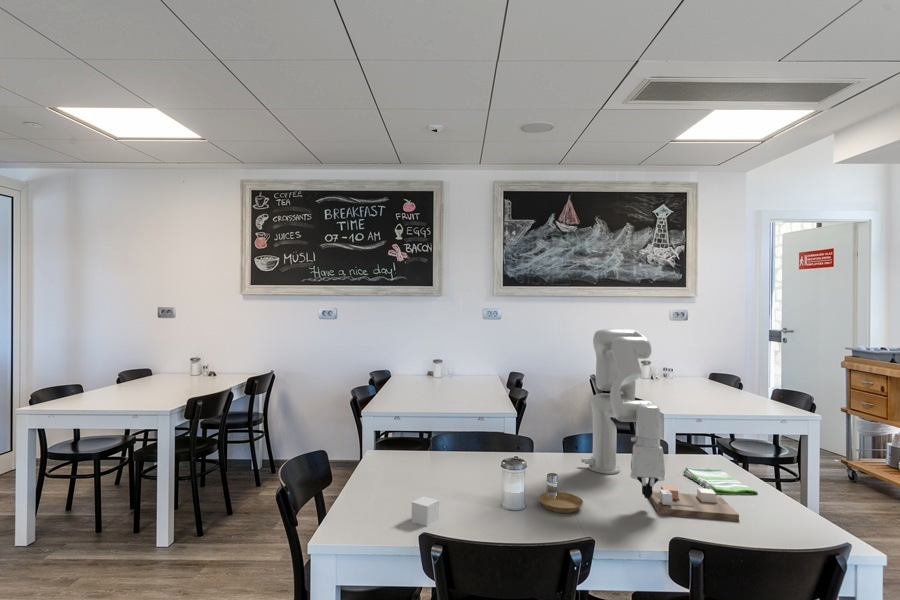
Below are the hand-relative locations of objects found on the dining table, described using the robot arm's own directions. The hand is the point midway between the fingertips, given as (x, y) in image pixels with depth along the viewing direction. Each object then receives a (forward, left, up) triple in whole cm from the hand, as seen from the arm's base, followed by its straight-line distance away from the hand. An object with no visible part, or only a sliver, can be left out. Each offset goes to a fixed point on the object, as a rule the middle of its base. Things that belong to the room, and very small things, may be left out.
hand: (647, 496), depth 166 cm
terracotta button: (+9, +8, -2) cm, 12 cm away
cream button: (+21, +8, -2) cm, 22 cm away
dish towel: (+33, +33, -5) cm, 47 cm away
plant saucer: (-29, -4, -4) cm, 29 cm away
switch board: (+15, +4, -4) cm, 16 cm away
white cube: (-71, -25, -4) cm, 75 cm away
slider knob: (+6, 0, -2) cm, 6 cm away
